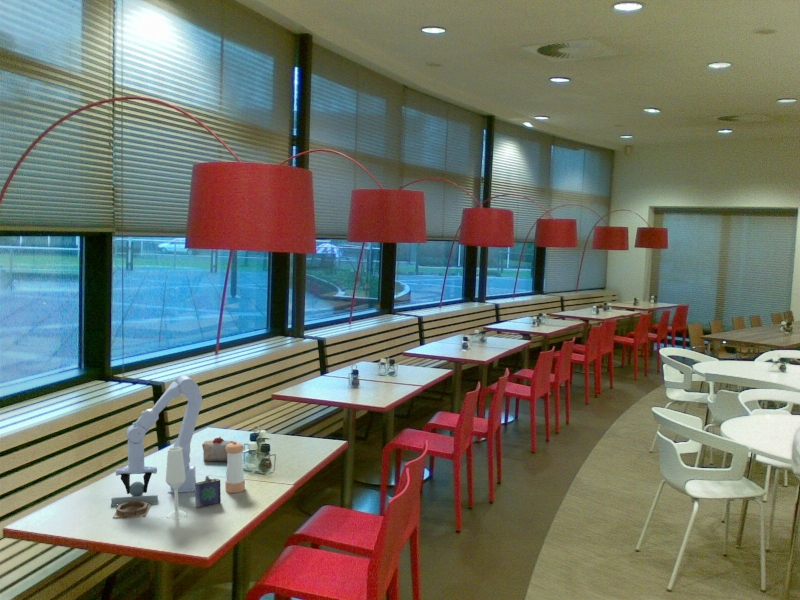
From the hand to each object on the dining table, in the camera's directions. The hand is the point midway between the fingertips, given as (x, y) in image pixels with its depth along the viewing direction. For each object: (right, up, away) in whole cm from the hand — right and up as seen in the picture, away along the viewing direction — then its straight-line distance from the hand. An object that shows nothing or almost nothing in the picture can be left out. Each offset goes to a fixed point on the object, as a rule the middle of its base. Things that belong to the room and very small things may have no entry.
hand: (137, 492), depth 268 cm
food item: (+20, +2, +43) cm, 48 cm away
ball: (0, +1, 0) cm, 1 cm away
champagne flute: (+20, -4, -17) cm, 27 cm away
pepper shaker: (+35, -1, +7) cm, 36 cm away
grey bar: (+2, -2, -7) cm, 8 cm away
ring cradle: (+4, -3, -14) cm, 15 cm away
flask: (+29, -3, -8) cm, 30 cm away
